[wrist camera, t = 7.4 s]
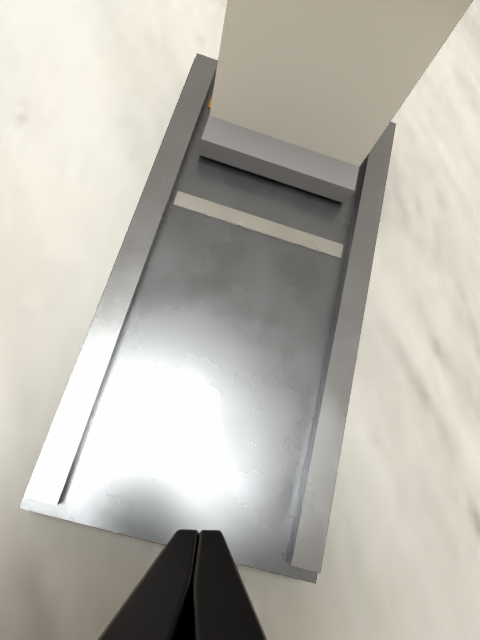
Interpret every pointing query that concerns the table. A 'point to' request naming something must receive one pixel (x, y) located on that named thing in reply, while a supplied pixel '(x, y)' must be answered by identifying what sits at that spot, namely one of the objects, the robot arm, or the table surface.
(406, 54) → the fader paddle
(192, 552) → the robot arm
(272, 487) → the tray
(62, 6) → the table surface
